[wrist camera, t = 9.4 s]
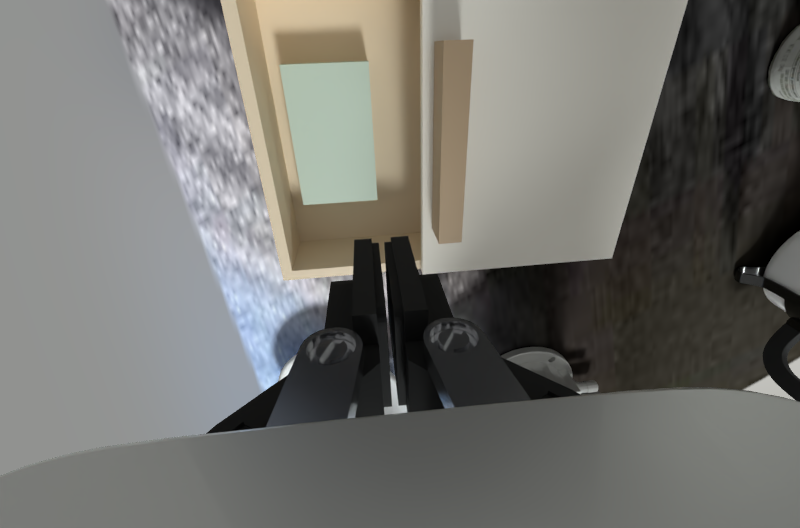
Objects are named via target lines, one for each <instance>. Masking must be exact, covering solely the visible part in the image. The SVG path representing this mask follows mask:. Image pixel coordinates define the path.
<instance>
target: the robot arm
mask: <svg viewBox="0 0 800 528" xmlns="http://www.w3.org/2000/svg"><path fill="white" fill-rule="evenodd" d="M384 248H385V264H386V281H387V297H388V314H389V325H390V334H391V343H392V352H393V361H394V370H395V379H396V388H397V396H398V405H399V406H402V405H406V407H407V413H397V414H387V415H385V414H384V407H392V396H391V381H390V365H389V349H388V334H387V319H386V307H385V297H384V288H383V278H382V269H381V259H380V249H379V243H372V238H371V239H357V240H354V261H353V280H348V281H335V282H331V286H330V293H329V301H328V308H327V316H326V323H325V329H324V330H320V331H318V332H316V333H314V334H312V335H310V336H309V337H308V338H307V339H306V340H304V342H303V343H302V345H301V346H300V348H299V351H298V353H297V355H296V358H295V360H294V362H293V365H292V367H291V369H290V372H289V374H288V375H287V376H286V377H284V378H283V379H281V380H280V381H278V382H277V383H276V384H274V385H273V386H271V387H270V388H268V389H267V390H266V391H264V392H263V393H261V394H260V395H258V396H257V397H256V398H254V399H253V400H251V401H250V402H248V403H247V404H246V405H244V406H243V407H241V408H240V409H239V410H237V411H236V412H234V413H233V414H231V415H230V416H229V417H227V418H226V419H224V420H223V421H222V422H220V423H219V424H217V425H216V426H215V427H213V428H212V429H211V430H210V431H209V432H208V433H206V434H200V435H191V436H182V437H174V438H173V437H172V438H164V439H157V440H150V441H143V442H136V443H128V444H121V445H114V446H107V447H100V448H95V449H91V450H85V451H81V452H76V453H71V454H66V455H62V456H59V457H55V458H52V459H48V460H45V461H41V462H38V463H35V464H31V465H28V466H25V467H22V468H20V469H17V470H14V471H11V472H9V473H6V474H4V475H1V476H0V528H800V402H799V401H795V400H791V399H787V398H783V397H779V396H773V395H768V394H762V393H757V392H752V391H746V390H735V389H724V388H713V387H679V388H664V389H648V390H633V391H621V392H611V393H600V392H599V391H598V385H597V383H596V381H594V380H591V381H583V382H579V383H578V382H577V381H574V380H573V379H572V377H573V374H572V369H571V367H570V365H569V363H568V362H567V361H566V359H565V358H564V357H563V356H562V355H561V354H560V353H558V352H556V351H554V350H552V349H549V348H544V347H526V348H520V349H516V350H513V351H510V352H508V353H505V354H503V355H501V356H500V355H499V353H498V352H497V351H496V349H495V348H494V346H493V345H492V343H491V342H490V341H489V339H488V338H487V336H486V335H485V333H484V332H483V331H482V330H481V329H480V328H479V327H478V326H477V325H476V324H474V323H472V322H471V321H468V320H465V319H461V318H453V315H452V313H451V310H450V307H449V304H448V302H447V299H446V296H445V293H444V291H443V288H442V285H441V283H440V280H439V277H438V275H437V274H425V275H419V273H418V270H417V266H416V263H415V259H414V255H413V252H412V248H411V245H410V241H409V237H408V236H400V237H391V242H384ZM581 393H582V394H581Z"/></svg>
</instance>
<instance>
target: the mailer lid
mask: <svg viewBox="0 0 800 528" xmlns="http://www.w3.org/2000/svg"><path fill="white" fill-rule="evenodd" d="M687 2H688V0H420V97H421V271H422V274H435V273H446V272H458V271H469V270H481V269H493V268H504V267H516V266H527V265H539V264H551V263H562V262H574V261H585V260H597V259H608V258H612V256H613V253H614V249H615V246H616V242H617V239H618V236H619V232H620V229H621V225H622V222H623V219H624V215H625V212H626V209H627V205H628V202H629V198H630V195H631V192H632V188H633V185H634V181H635V178H636V175H637V171H638V168H639V164H640V161H641V158H642V154H643V151H644V147H645V144H646V141H647V137H648V134H649V131H650V127H651V124H652V120H653V117H654V114H655V110H656V107H657V103H658V100H659V97H660V93H661V90H662V86H663V83H664V80H665V76H666V73H667V70H668V66H669V63H670V59H671V56H672V53H673V49H674V46H675V42H676V39H677V36H678V32H679V29H680V25H681V22H682V19H683V15H684V12H685V9H686V5H687Z"/></svg>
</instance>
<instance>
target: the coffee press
mask: <svg viewBox="0 0 800 528" xmlns="http://www.w3.org/2000/svg"><path fill="white" fill-rule="evenodd" d="M735 280H736V281H737V282H740V283H744V284H750V285H755V286H759V287H762V288H763V290H764V293H765V295H766V297H767V298H768V299H769V301H771V302H772V303H773V304H774V305H776V306H777V307H779V308H781V309H782V310H784V311H785V312H786V313H787V314H788V316H789V317H791V318H790V319H788V320H787V322H786V323H785V324H784V325H783V326H782V327H781V328H780V329H779V330H778V331H777V332H776V333H775V334H774V335H773V336H772V337H771V338H770V340H769V341H768V342H767V344H766V346H765V348H764V352H763V362H764V365H765V368H766V370H767V372H768V374H769V375H770V376H771V378H772V379H773V380H774V381H775V382H776V383H777V384H778V385H779V386H780V387H781V388H782V389H783V390H784V391H785V392H787V393H788V394H789V395H790V396H791V397H793V398H794V399H795V400H796V401H799V402H800V379H799V378H798V377H797V376H796V375H794V373H793V372H792V371H791V369H790V368H789V365H788V362H787V355H788V352H789V351H790V349H791V348H792V347H793V346H794V345H795V344H796V343H797V342H798V341H800V230H799V231H798V232H797V233H795V234H794V235H793V236H791V237H790V238H789V239H788V240H787V241H786V242H785V243H784V244H783V245H782V246H781V247H780V248H779V249H778V250H777V251H776V253H775V254H774V255H773V257H772V258H771V260H770V261H769V263H768V265H767V266H765V267H752V266H740V267H738V268H737V269H736V274H735Z"/></svg>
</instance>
